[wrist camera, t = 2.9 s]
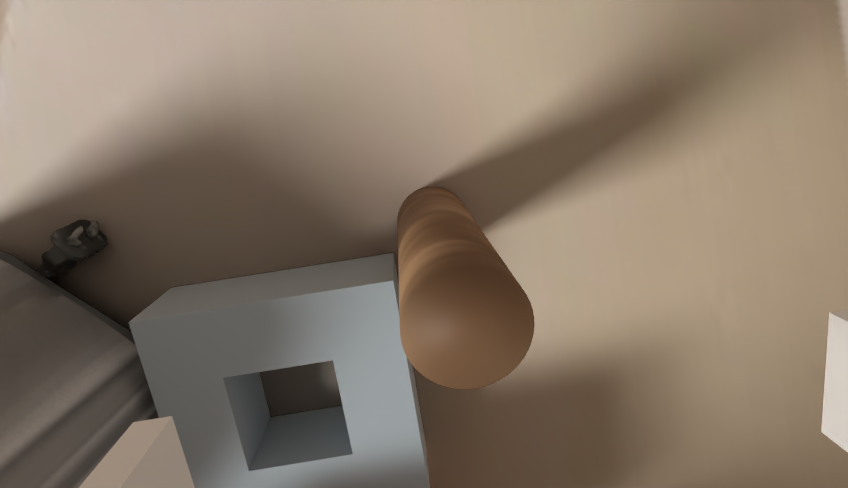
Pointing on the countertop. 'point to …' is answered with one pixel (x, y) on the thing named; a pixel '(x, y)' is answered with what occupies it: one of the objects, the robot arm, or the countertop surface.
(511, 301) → the peg
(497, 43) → the countertop surface
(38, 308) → the toaster
